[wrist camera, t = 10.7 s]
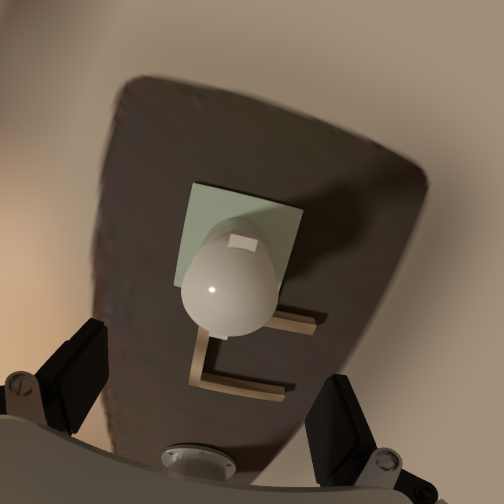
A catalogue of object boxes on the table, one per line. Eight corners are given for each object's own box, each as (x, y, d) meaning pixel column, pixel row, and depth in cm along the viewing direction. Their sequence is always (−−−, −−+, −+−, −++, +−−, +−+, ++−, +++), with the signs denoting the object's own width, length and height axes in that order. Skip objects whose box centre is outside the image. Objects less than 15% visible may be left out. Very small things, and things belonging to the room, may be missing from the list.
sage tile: (272, 306, 28) (273, 308, 28) (174, 283, 27) (173, 285, 27) (302, 209, 25) (303, 210, 25) (194, 182, 24) (193, 182, 24)
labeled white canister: (278, 219, 25) (294, 250, 16) (254, 301, 27) (257, 361, 19) (212, 202, 24) (193, 225, 16) (194, 287, 27) (173, 342, 18)
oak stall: (281, 393, 32) (282, 401, 30) (190, 376, 31) (188, 384, 29) (313, 317, 28) (316, 325, 27) (206, 294, 28) (204, 301, 26)
